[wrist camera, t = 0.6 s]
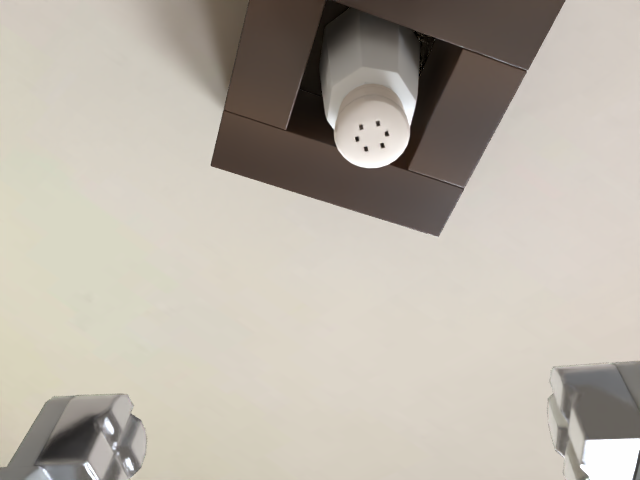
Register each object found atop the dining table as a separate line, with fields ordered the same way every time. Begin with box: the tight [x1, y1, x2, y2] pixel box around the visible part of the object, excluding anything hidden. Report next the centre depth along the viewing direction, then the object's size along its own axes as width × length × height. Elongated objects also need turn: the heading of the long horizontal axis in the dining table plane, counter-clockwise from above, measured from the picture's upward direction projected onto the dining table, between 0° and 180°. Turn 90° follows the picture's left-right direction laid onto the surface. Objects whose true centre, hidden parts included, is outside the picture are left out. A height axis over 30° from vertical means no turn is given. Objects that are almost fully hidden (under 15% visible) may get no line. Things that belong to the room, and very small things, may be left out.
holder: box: [211, 0, 565, 237], centre depth 27 cm, size 12×12×6 cm
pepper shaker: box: [319, 7, 420, 168], centre depth 25 cm, size 5×5×11 cm
